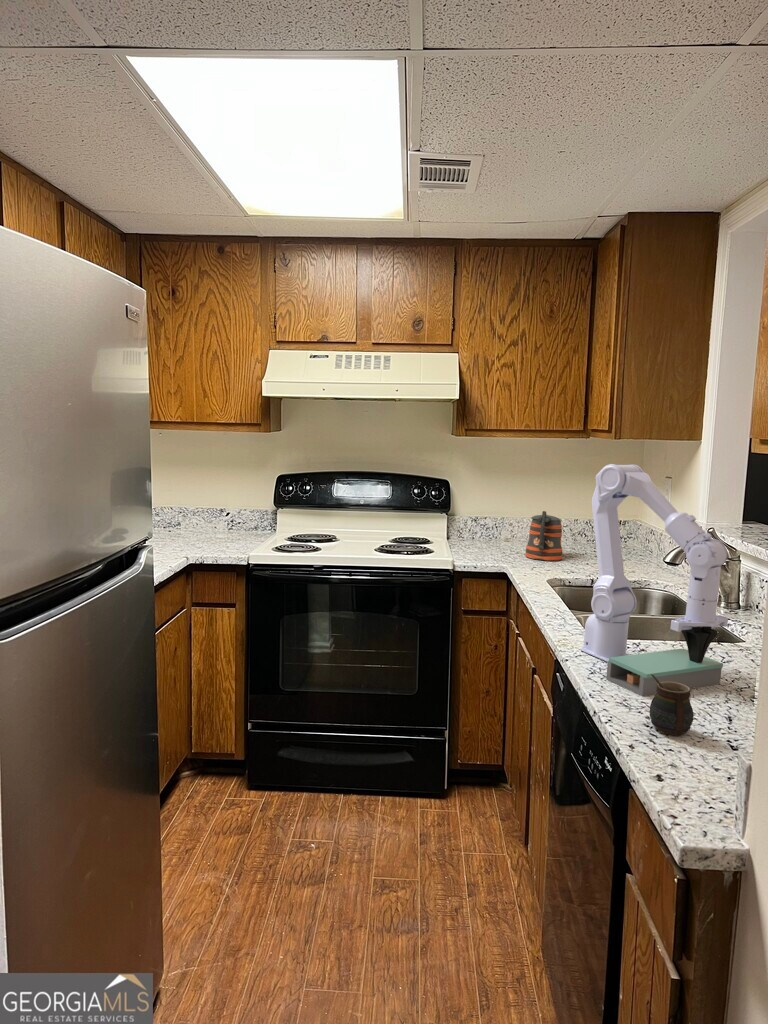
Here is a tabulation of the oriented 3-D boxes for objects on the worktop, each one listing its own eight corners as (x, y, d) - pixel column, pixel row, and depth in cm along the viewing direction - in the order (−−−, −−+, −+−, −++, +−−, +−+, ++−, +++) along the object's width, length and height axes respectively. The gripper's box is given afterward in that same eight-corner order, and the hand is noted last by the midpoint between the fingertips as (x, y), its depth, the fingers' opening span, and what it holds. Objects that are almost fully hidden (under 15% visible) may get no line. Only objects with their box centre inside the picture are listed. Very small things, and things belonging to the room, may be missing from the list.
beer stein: (561, 565, 281) (566, 513, 279) (523, 561, 285) (527, 510, 282) (562, 556, 300) (566, 508, 297) (525, 553, 303) (529, 505, 301)
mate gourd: (700, 739, 125) (706, 683, 124) (657, 739, 124) (662, 682, 123) (680, 722, 132) (685, 668, 131) (639, 721, 132) (644, 668, 130)
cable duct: (604, 678, 154) (605, 660, 153) (679, 667, 163) (681, 651, 163) (642, 696, 144) (644, 677, 144) (719, 684, 154) (721, 666, 154)
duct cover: (608, 661, 153) (608, 657, 153) (682, 651, 162) (683, 648, 162) (646, 678, 144) (646, 674, 143) (722, 667, 153) (723, 663, 153)
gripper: (693, 605, 145) (686, 671, 147) (743, 600, 152) (736, 664, 153) (665, 596, 151) (659, 660, 153) (714, 592, 158) (707, 654, 159)
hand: (695, 661), depth 154 cm, fingers closed, pressing on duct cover
